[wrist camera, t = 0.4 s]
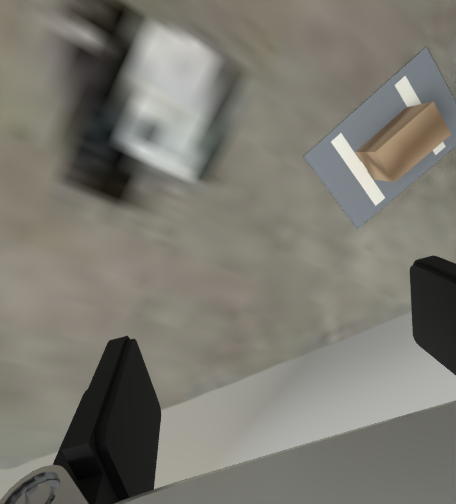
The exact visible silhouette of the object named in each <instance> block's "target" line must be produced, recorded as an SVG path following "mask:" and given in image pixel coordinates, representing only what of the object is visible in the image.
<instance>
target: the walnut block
mask: <svg viewBox="0 0 456 504" xmlns="http://www.w3.org/2000/svg"><path fill="white" fill-rule="evenodd" d="M450 135H451V132H450V131H449V129H448V127H447V125H446V123H445V122H444V120H443V118H442V116H441V114H440V112H439V111H438V109H437V107H436V105H435V103H434V102H428V103H424V104H419V105H415V106H410V107H406V108H405V109H404V110H403V111H402V112H401V113H400V114H398V115H397V116H396V117H395V118H394V119H393V120H392V121H390V122H389V123H388V124H387V125H386V126H385V127H384V128H382V129H381V130H380V131H379V132H378V133H377V134H376V135H374V136H373V137H372V138H371V139H370V140H369V141H368V142H366V143H365V144H364V145H363V146H362V147H361V148H360V149H358V150H357V151H356V152H355V153H356V154H357V156H358V157H359V159H360V160H361V162H362V163H363V164H364V166H365V167H366V169H367V170H368V172H369V173H370V175H371V176H372V178H373V179H374V180H382V181H390V182H396V181H397V180H398V179H399V178H401V177H402V176H403V175H404V174H405V173H406V172H408V171H409V170H410V169H411V168H412V167H413V166H415V165H416V164H417V163H418V162H419V161H421V160H422V159H423V158H424V157H425V156H426V155H428V154H429V153H430V152H431V151H432V150H433V149H435V148H436V147H437V146H438V145H439V144H441V143H442V142H443V141H444V140H445V139H446V138H448V137H449V136H450Z"/></svg>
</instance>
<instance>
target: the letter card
mask: <svg viewBox="0 0 456 504" xmlns="http://www.w3.org/2000/svg"><path fill="white" fill-rule="evenodd" d="M428 102H434V103H435V105H436V107H437V109H438V111H439V112H440V114H441V116H442V118H443V120H444V122H445V123H446V125H447V127H448V129H449V131H450V132H451V135H450V136H449V137H448V138H446V139H445V140H444V141H443V142H442V143H441V144H439V145H438V146H437V147H436V148H435V149H433V150H432V151H431V152H430V153H429V154H428V155H426V156H425V157H424V158H423V159H422V160H421V161H419V162H418V163H417V164H416V165H415V166H413V167H412V168H411V169H410V170H409V171H408V172H406V173H405V174H404V175H403V176H402V177H401V178H399V179H398V180H397V181H396V182H390V181H382V180H374V179H373V178H372V176H371V175H370V173H369V172H368V170H367V169H366V167H365V166H364V164H363V163H362V162H361V160H360V159H359V157H358V156H357V154H356V153H355V152H356V151H357V150H358V149H360V148H361V147H362V146H363V145H364V144H365V143H366V142H368V141H369V140H370V139H371V138H372V137H373V136H374V135H376V134H377V133H378V132H379V131H380V130H381V129H382V128H384V127H385V126H386V125H387V124H388V123H389V122H390V121H392V120H393V119H394V118H395V117H396V116H397V115H398V114H400V113H401V112H402V111H403V110H404V109H405V108H406V107H410V106H415V105H419V104H424V103H428ZM455 146H456V102H455V100H454V98H453V96H452V94H451V92H450V90H449V88H448V86H447V85H446V83H445V81H444V79H443V77H442V75H441V73H440V71H439V69H438V68H437V66H436V64H435V62H434V60H433V58H432V56H431V54H430V52H429V51H428V49H427V47H425V48H424V49H423V50H422V51H421V52H420V53H419V54H417V55H416V56H415V57H414V58H413V59H412V60H411V61H410V62H409V63H407V64H406V65H405V66H404V67H403V68H402V69H401V70H400V71H398V72H397V73H396V74H395V75H394V76H393V77H392V78H391V79H390V80H388V81H387V82H386V83H385V84H384V85H383V86H382V87H381V88H379V89H378V90H377V91H376V92H375V93H374V94H373V95H372V96H371V97H369V98H368V99H367V100H366V101H365V102H364V103H363V104H362V105H360V106H359V107H358V108H357V109H356V110H355V111H354V112H353V113H351V114H350V115H349V116H348V117H347V118H346V119H345V120H344V121H343V122H341V123H340V124H339V125H338V126H337V127H336V128H335V129H334V130H332V131H331V132H330V133H329V134H328V135H327V136H326V137H325V138H324V139H322V140H321V141H320V142H319V143H318V144H317V145H316V146H315V147H313V148H312V149H311V150H310V151H309V152H308V153H307V154H306V155H305V156H303V157H304V158H305V160H306V161H307V162H308V164H309V165H310V166H311V168H312V169H313V170H314V172H315V173H316V174H317V176H318V177H319V178H320V180H321V181H322V182H323V184H324V185H325V186H326V188H327V189H328V190H329V192H330V193H331V194H332V196H333V197H334V198H335V200H336V201H337V203H338V204H339V205H340V207H341V208H342V209H343V211H344V212H345V213H346V215H347V216H348V217H349V219H350V220H351V221H352V223H353V224H354V225H355V227H356V228H357V229H358V228H359V227H360V226H362V225H363V224H364V223H365V222H366V221H368V220H369V219H370V218H371V217H372V216H374V215H375V214H376V213H377V212H378V211H379V210H381V209H382V208H383V207H384V206H385V205H387V204H388V203H389V202H390V201H391V200H392V199H394V198H395V197H396V196H397V195H398V194H400V193H401V192H402V191H403V190H404V189H406V188H407V187H408V186H409V185H410V184H411V183H413V182H414V181H415V180H416V179H417V178H419V177H420V176H421V175H422V174H423V173H424V172H426V171H427V170H428V169H429V168H430V167H432V166H433V165H434V164H435V163H436V162H437V161H439V160H440V159H441V158H442V157H443V156H445V155H446V154H447V153H448V152H449V151H451V150H452V149H453V148H454V147H455Z"/></svg>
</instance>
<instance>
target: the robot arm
mask: <svg viewBox="0 0 456 504" xmlns="http://www.w3.org/2000/svg"><path fill="white" fill-rule="evenodd" d="M410 285H411V305H412V325H413V337H414V339H415V341H416V343H417V344H418V345H419V346H420V347H422V348H423V349H424V350H425V351H426V352H428V353H429V354H430V355H431V356H433V357H434V358H435V359H436V360H437V361H439V362H440V363H441V364H442V365H444V366H445V367H446V368H447V369H449V370H450V371H451V372H453V373H454V374H455V375H456V264H455V263H452V262H450V261H447V260H445V259H442V258H440V257H437V256H430V257H426V258H422V259H418V260H416V261H415V262H414V264H413V265H412V266H411V268H410ZM160 422H161V409H160V404H159V402H158V399H157V396H156V393H155V391H154V388H153V385H152V382H151V379H150V377H149V374H148V371H147V368H146V366H145V363H144V360H143V357H142V355H141V352H140V349H139V346H138V344H137V341H136V340H135V339H131V340H130V338H129V337H128V336H125V337H121V338H117V339H113V340H110V341H109V342H108V344H107V346H106V348H105V351H104V353H103V355H102V357H101V360H100V362H99V364H98V367H97V369H96V371H95V374H94V376H93V378H92V381H91V383H90V385H89V388H88V390H86V391H85V393H84V394H83V397H82V399H81V401H80V404H79V406H78V408H77V410H76V413H75V415H74V417H73V419H72V422H71V424H70V426H69V429H68V431H67V433H66V435H65V438H64V440H63V442H62V445H61V447H60V449H59V451H58V454H57V456H56V458H55V460H54V463H53V465H49V466H44V467H41V468H39V469H37V470H35V471H32V472H31V473H29V474H28V475H26V476H25V477H24V478H22V479H20V480H19V481H18V482H17V483H16V484H15V485H14V486H12V487H11V488H10V489H9V490H8V492H7V493H6V494H5V495H4V496H3V498H2V499H1V500H0V504H456V401H453V402H449V403H445V404H442V405H438V406H435V407H431V408H428V409H424V410H421V411H417V412H414V413H410V414H407V415H404V416H400V417H396V418H393V419H390V420H386V421H382V422H379V423H375V424H372V425H369V426H365V427H362V428H358V429H355V430H351V431H348V432H344V433H341V434H337V435H334V436H331V437H327V438H324V439H320V440H317V441H313V442H310V443H307V444H303V445H300V446H297V447H293V448H290V449H286V450H283V451H280V452H276V453H273V454H269V455H266V456H263V457H259V458H256V459H253V460H249V461H246V462H243V463H239V464H236V465H232V466H229V467H225V468H222V469H219V470H215V471H212V472H209V473H205V474H202V475H199V476H195V477H192V478H189V479H185V480H182V481H178V482H175V483H172V484H169V485H166V486H163V487H160V488H157V489H154V481H155V471H156V461H157V451H158V442H159V441H158V440H159V431H160Z"/></svg>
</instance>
